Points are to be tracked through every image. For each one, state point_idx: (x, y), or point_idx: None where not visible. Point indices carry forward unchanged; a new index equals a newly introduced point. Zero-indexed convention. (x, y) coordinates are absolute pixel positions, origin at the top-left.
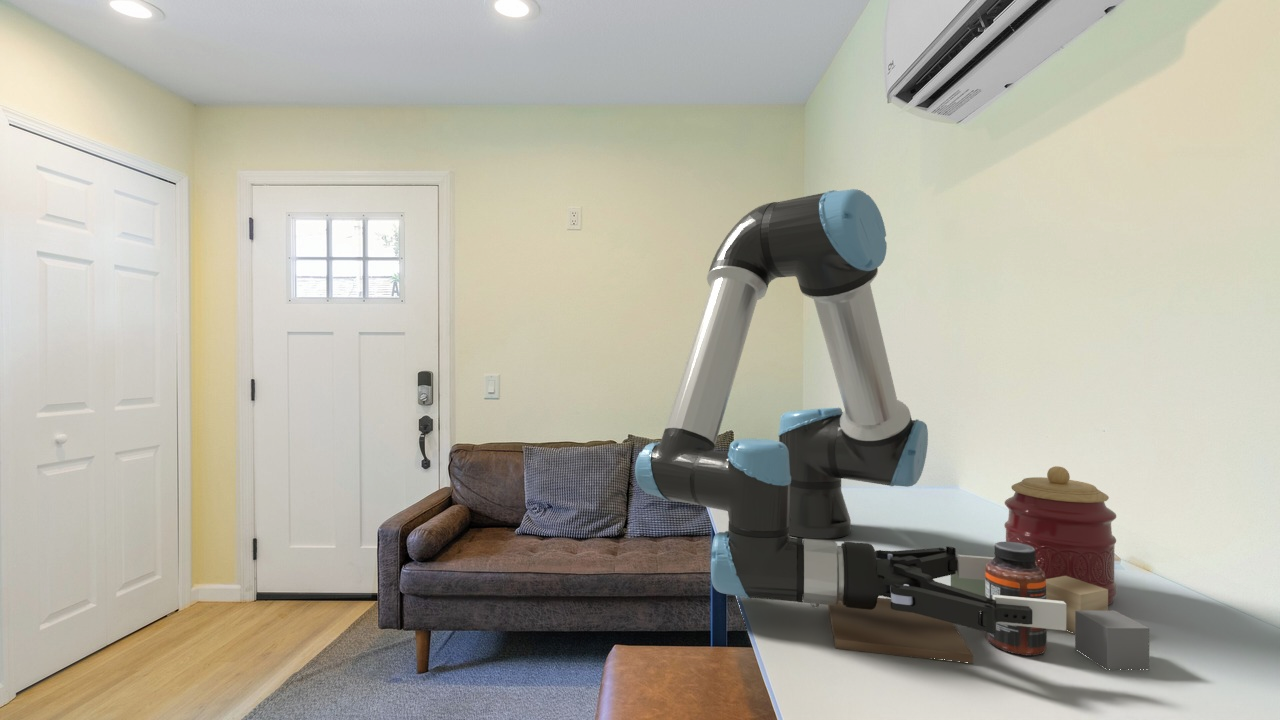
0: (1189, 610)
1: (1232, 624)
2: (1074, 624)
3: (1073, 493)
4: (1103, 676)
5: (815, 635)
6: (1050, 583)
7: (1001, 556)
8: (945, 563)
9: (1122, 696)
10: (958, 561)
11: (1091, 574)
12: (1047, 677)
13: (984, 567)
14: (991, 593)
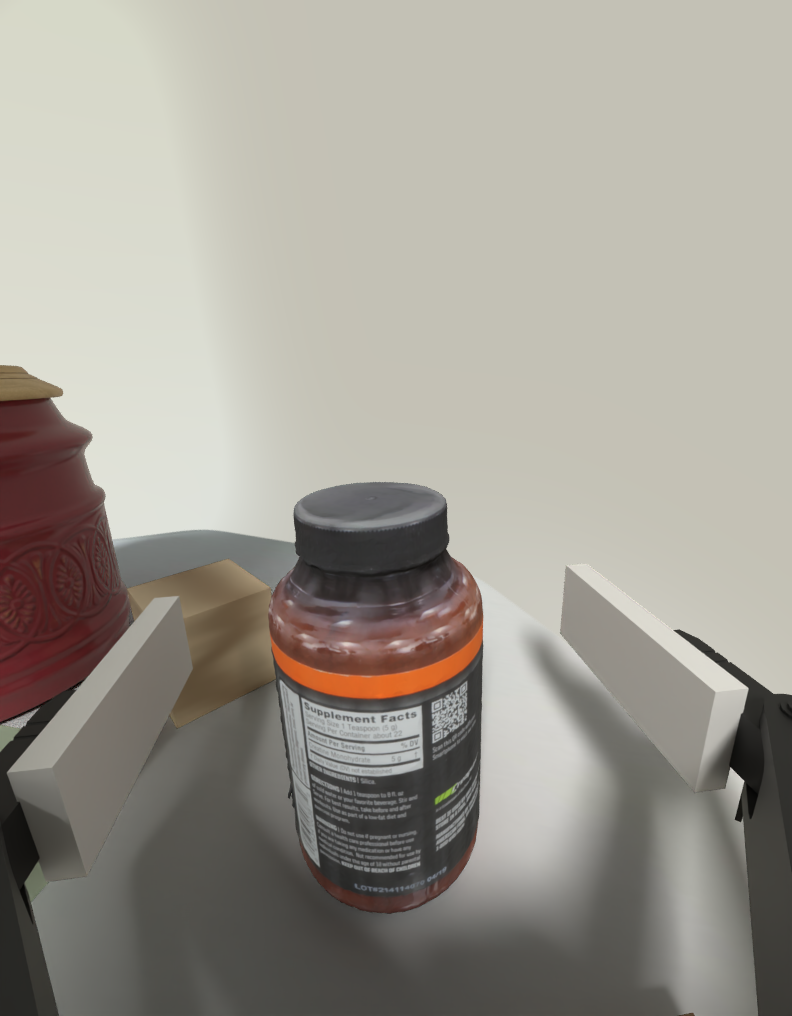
0: (158, 558)
1: (211, 544)
2: (266, 662)
3: (16, 376)
4: (482, 681)
5: None
6: (185, 614)
7: (423, 555)
8: (22, 905)
9: (559, 674)
10: (49, 800)
11: (113, 565)
12: (575, 778)
13: (135, 706)
14: (434, 736)
